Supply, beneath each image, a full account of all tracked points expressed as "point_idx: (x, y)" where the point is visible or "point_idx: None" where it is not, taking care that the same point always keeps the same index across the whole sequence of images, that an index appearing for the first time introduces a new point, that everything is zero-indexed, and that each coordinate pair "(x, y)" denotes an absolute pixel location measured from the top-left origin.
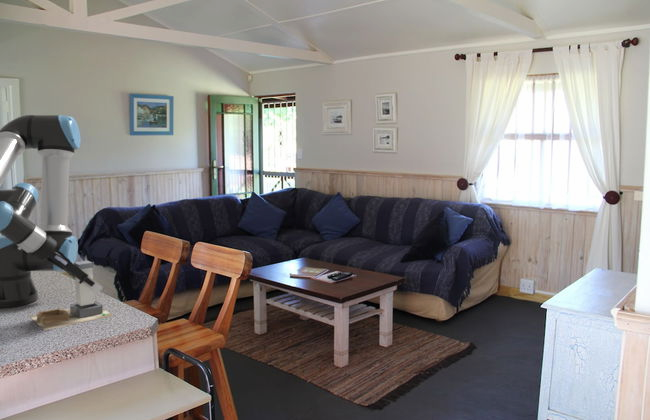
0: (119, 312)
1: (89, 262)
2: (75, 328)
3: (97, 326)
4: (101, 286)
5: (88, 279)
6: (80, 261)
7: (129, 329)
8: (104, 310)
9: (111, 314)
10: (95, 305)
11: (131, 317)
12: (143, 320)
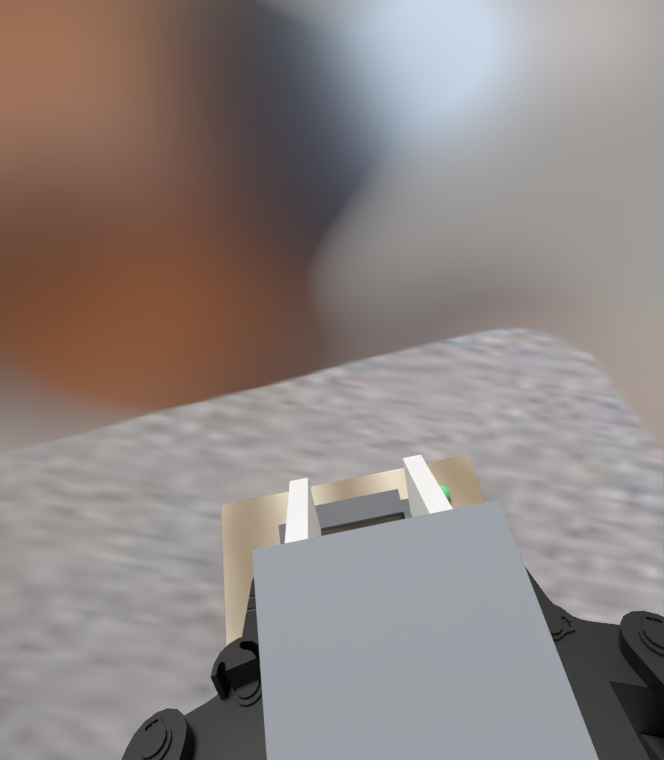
0: (360, 420)
1: (449, 550)
2: None
3: (539, 550)
4: (426, 466)
5: (539, 593)
6: (266, 727)
7: (623, 425)
8: (364, 481)
9: (446, 462)
10: (356, 522)
11: (454, 389)
12: (512, 357)
